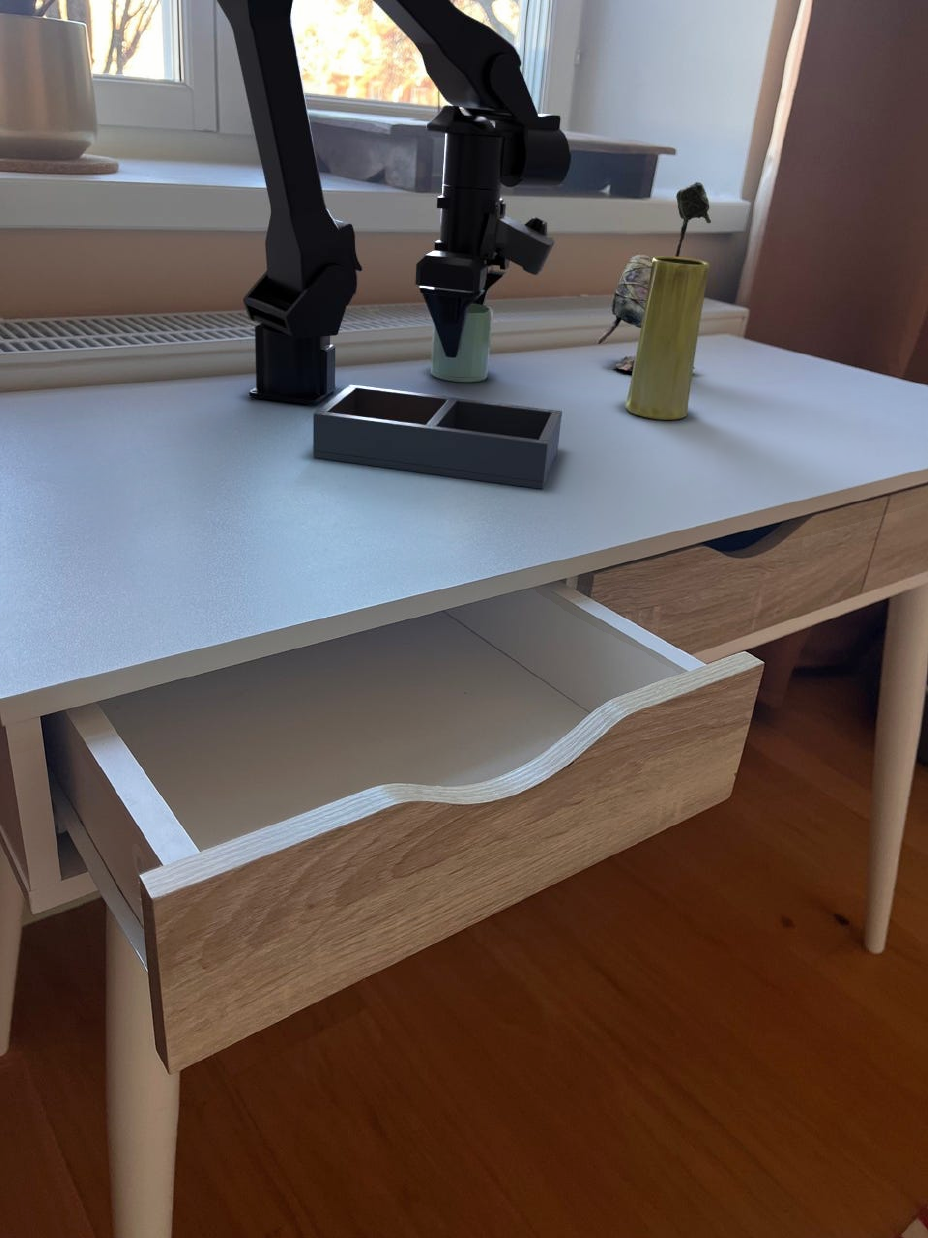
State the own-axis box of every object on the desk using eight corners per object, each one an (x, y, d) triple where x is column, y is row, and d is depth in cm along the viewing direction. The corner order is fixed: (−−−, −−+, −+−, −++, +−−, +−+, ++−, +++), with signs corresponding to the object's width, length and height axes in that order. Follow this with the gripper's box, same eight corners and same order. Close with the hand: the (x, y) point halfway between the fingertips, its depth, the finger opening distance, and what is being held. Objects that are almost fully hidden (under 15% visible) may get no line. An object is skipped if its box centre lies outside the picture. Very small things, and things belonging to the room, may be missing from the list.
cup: (425, 377, 104) (428, 308, 101) (437, 365, 109) (441, 299, 106) (481, 384, 103) (486, 315, 100) (491, 371, 108) (497, 305, 105)
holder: (542, 489, 76) (547, 443, 75) (313, 457, 79) (313, 413, 77) (557, 452, 85) (562, 411, 83) (349, 425, 88) (350, 384, 86)
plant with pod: (618, 354, 121) (643, 174, 112) (703, 374, 115) (738, 185, 106) (582, 364, 115) (606, 174, 106) (670, 385, 109) (704, 186, 100)
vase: (686, 423, 96) (715, 267, 89) (623, 415, 97) (646, 260, 90) (687, 407, 101) (713, 259, 94) (626, 400, 102) (648, 252, 95)
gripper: (540, 201, 88) (523, 377, 96) (564, 188, 105) (547, 339, 112) (418, 189, 90) (410, 363, 97) (460, 178, 106) (450, 328, 113)
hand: (460, 347), depth 105 cm, fingers open, 9 cm apart
